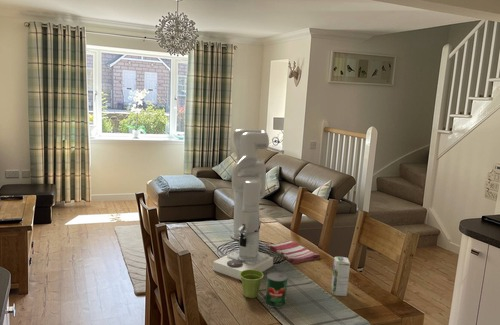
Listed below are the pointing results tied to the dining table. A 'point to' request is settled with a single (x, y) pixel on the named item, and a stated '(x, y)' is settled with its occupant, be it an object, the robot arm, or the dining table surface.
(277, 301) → the canned tomato
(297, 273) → the dining table surface
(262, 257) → the scale pan
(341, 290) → the syrup box
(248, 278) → the plant pot
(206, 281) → the dining table surface
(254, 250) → the small box
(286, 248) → the dish towel
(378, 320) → the dining table surface
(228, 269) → the scale
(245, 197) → the robot arm
